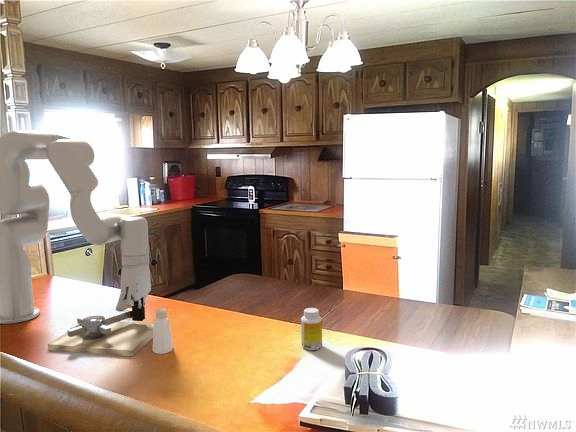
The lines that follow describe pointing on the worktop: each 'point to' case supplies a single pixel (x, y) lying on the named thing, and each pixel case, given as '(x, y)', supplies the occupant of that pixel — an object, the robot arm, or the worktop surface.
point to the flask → (122, 304)
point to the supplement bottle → (311, 329)
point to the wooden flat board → (108, 340)
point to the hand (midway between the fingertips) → (138, 319)
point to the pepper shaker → (162, 333)
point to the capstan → (98, 324)
